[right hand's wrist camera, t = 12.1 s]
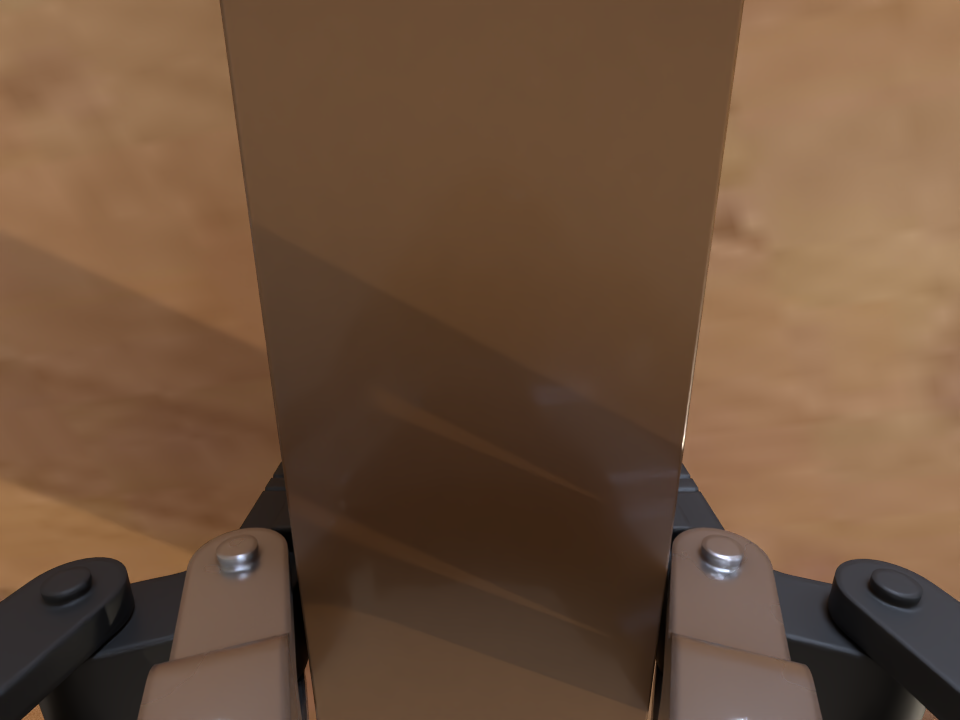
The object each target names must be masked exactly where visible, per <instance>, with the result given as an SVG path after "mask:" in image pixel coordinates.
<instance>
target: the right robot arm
mask: <svg viewBox="0 0 960 720" xmlns="http://www.w3.org/2000/svg"><path fill="white" fill-rule="evenodd" d="M307 661H308V650H307V643H306V636H305V628H304V621H303V613H302V606H301V599H300V591H299V584H298V576H297V569H296V562H295V554H294V547H293V539H292V532H291V525H290V517H289V510H288V502H287V495H286V488H285V480H284V473H283V465H282V462H281V463H280V465H279V467H278V468H277V470H276V471H275V473H274V475H273V478H271V479H270V481H269V483H268V484H267V486H266V487H265V491H263V492H262V494H261V495H260V497H259V499H258V500H257V502H256V503H255V505H254V507H253V508H252V510H251V511H250V513H249V515H248V516H247V518H246V519H245V521H244V523H243V524H242V526H241V527H240V529H239V530H235V531H231V532H228V533H225V534H222V535H220V536H218V537H216V538H214V539H212V540H210V541H209V542H207V543H206V544H204V545H203V546H202V547H201V548H199V549H198V550H197V551H196V552H195V554H194V555H193V556H192V558H191V559H190V561H189V564H188V567H187V571H184V572H181V573H177V574H173V575H168V576H164V577H159V578H154V579H150V580H145V581H140V582H136V583H131V584H130V581H129V578H128V574H127V570H126V568H125V566H124V565H123V564H122V563H121V562H119V561H118V560H115V559H112V558H105V557H95V558H86V559H81V560H76V561H73V562H69V563H66V564H63V565H60V566H58V567H55V568H53V569H51V570H49V571H47V572H45V573H43V574H41V575H39V576H38V577H36V578H34V579H33V580H31V581H30V582H28V583H27V584H25V585H24V586H23V587H21V588H20V589H18V590H17V591H16V592H14V593H13V594H11V595H10V596H8V597H7V598H6V599H4V600H3V601H1V602H0V720H21V719H22V718H24V717H25V716H26V715H27V714H28V713H29V712H30V711H31V710H32V709H33V708H34V707H36V706H37V705H38V704H39V706H40V708H41V711H42V714H43V717H44V720H309V712H308V697H307V683H306V675H305V667H306V664H307ZM926 708H927V709H928V710H929V711H930V712H931V713H932V714H933V715H934V716H935V717H936V718H938V719H939V720H960V602H959V601H957V600H956V599H954V598H953V597H952V596H950V595H949V594H947V593H946V592H944V591H943V590H942V589H940V588H939V587H937V586H936V585H935V584H933V583H932V582H930V581H928V580H927V579H925V578H924V577H922V576H920V575H918V574H916V573H914V572H912V571H910V570H908V569H905V568H903V567H900V566H897V565H894V564H891V563H887V562H883V561H878V560H871V559H855V560H850V561H846V562H844V563H842V564H841V565H840V566H839V567H838V568H837V570H836V572H835V576H834V580H833V584H830V583H825V582H820V581H816V580H811V579H806V578H802V577H797V576H792V575H788V574H784V573H781V572H778V571H775V570H773V568H772V564H771V561H770V559H769V558H768V556H767V555H766V554H765V553H764V551H763V550H762V549H760V548H759V547H758V546H757V545H756V544H754V543H753V542H751V541H750V540H748V539H746V538H744V537H742V536H740V535H737V534H735V533H732V532H729V531H725V530H724V528H723V527H722V525H721V523H720V522H719V520H718V519H717V517H716V516H715V514H714V512H713V511H712V509H711V508H710V506H709V504H708V503H707V501H706V500H705V498H704V497H703V495H702V493H701V492H698V487H697V486H696V484H695V482H694V481H693V479H690V475H689V473H688V471H687V470H686V468H685V467H684V465H683V463H682V466H681V473H680V480H679V488H678V495H677V503H676V510H675V518H674V525H673V533H672V540H671V547H670V555H669V562H668V570H667V577H666V585H665V592H664V599H663V607H662V614H661V622H660V629H659V637H658V644H657V651H656V667H655V675H654V682H653V696H652V711H651V720H922V717H923V715H924V712H925V709H926Z"/></svg>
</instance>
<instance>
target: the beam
mask: <svg viewBox="0 0 960 720" xmlns="http://www.w3.org/2000/svg"><path fill="white" fill-rule="evenodd" d="M743 5H744V0H220V6H221V14H222V21H223V29H224V36H225V43H226V51H227V58H228V66H229V73H230V80H231V88H232V95H233V103H234V110H235V117H236V125H237V132H238V140H239V147H240V154H241V162H242V169H243V177H244V184H245V191H246V199H247V206H248V214H249V221H250V228H251V236H252V243H253V251H254V258H255V265H256V273H257V280H258V288H259V295H260V303H261V310H262V317H263V325H264V332H265V340H266V347H267V354H268V362H269V369H270V377H271V384H272V391H273V399H274V406H275V414H276V421H277V428H278V436H279V443H280V451H281V458H282V465H283V473H284V480H285V488H286V495H287V502H288V510H289V517H290V525H291V532H292V539H293V547H294V554H295V562H296V569H297V576H298V584H299V591H300V599H301V606H302V613H303V621H304V628H305V636H306V643H307V650H308V658H309V665H310V673H311V680H312V687H313V695H314V702H315V710H316V717H317V720H647V718H648V711H649V703H650V696H651V689H652V681H653V674H654V666H655V659H656V651H657V644H658V637H659V629H660V622H661V614H662V607H663V599H664V592H665V585H666V577H667V570H668V562H669V555H670V547H671V540H672V533H673V525H674V518H675V510H676V503H677V495H678V488H679V480H680V473H681V466H682V458H683V451H684V443H685V436H686V428H687V421H688V414H689V406H690V399H691V391H692V384H693V376H694V369H695V362H696V354H697V347H698V339H699V332H700V324H701V317H702V310H703V302H704V295H705V287H706V280H707V272H708V265H709V258H710V250H711V243H712V235H713V228H714V220H715V213H716V206H717V198H718V191H719V183H720V176H721V168H722V161H723V154H724V146H725V139H726V131H727V124H728V116H729V109H730V101H731V94H732V87H733V79H734V72H735V64H736V57H737V49H738V42H739V35H740V27H741V20H742V12H743Z"/></svg>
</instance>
